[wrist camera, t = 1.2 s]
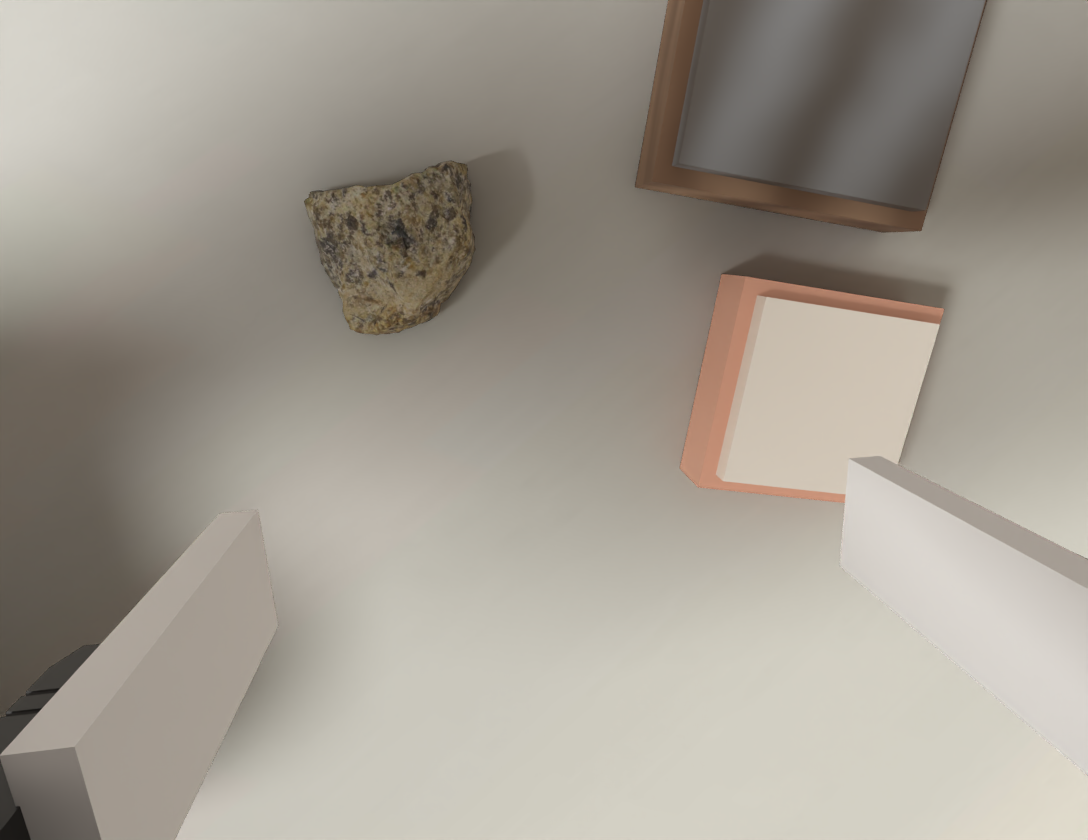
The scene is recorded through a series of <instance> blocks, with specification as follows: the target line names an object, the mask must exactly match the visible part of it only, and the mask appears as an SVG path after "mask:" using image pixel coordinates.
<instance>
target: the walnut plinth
mask: <svg viewBox="0 0 1088 840" xmlns="http://www.w3.org/2000/svg"><path fill="white" fill-rule="evenodd" d="M986 2H987V0H668V4H667V10H666V16H665V21H664V27H663V32H662V38H661V44H660V49H659V55H658V60H657V66H656V72H655V77H654V83H653V88H652V94H651V100H650V105H649V111H648V116H647V122H646V128H645V133H644V139H643V144H642V150H641V156H640V161H639V167H638V172H637V178H636V184H635V187H637V188H642V189H648V190H653V191H659V192H664V193H670V194H675V195H681V196H686V197H692V198H697V199H703V200H708V201H714V202H719V203H725V204H730V205H736V206H741V207H747V208H752V209H758V210H763V211H769V212H774V213H780V214H785V215H790V216H796V217H801V218H807V219H812V220H818V221H823V222H829V223H834V224H840V225H845V226H851V227H856V228H862V229H867V230H873V231H878V232H908V231H921V230H922V227H923V223H924V220H925V216H926V213H927V209H928V206H929V202H930V199H931V195H932V192H933V188H934V185H935V181H936V178H937V174H938V171H939V167H940V164H941V160H942V156H943V153H944V149H945V146H946V142H947V139H948V135H949V132H950V128H951V125H952V121H953V118H954V114H955V111H956V107H957V104H958V100H959V97H960V93H961V90H962V86H963V83H964V79H965V76H966V72H967V69H968V65H969V62H970V58H971V55H972V51H973V48H974V44H975V41H976V37H977V34H978V30H979V26H980V23H981V19H982V16H983V12H984V9H985V5H986Z"/></svg>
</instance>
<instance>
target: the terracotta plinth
mask: <svg viewBox="0 0 1088 840" xmlns="http://www.w3.org/2000/svg"><path fill="white" fill-rule="evenodd" d="M943 312H944V309H942V308H936V307H929V306H923V305H917V304H911V303H905V302H899V301H893V300H887V299H881V298H875V297H868V296H862V295H856V294H850V293H844V292H838V291H832V290H826V289H820V288H814V287H807V286H801V285H795V284H789V283H783V282H777V281H771V280H765V279H759V278H753V277H746V276H737V275H727V274H721V279H720V284H719V288H718V293H717V298H716V302H715V307H714V311H713V316H712V321H711V325H710V330H709V335H708V339H707V344H706V348H705V353H704V358H703V362H702V367H701V372H700V376H699V381H698V386H697V390H696V395H695V399H694V404H693V409H692V413H691V418H690V423H689V427H688V432H687V436H686V441H685V446H684V450H683V455H682V460H681V464H680V469H681V470H682V471H683V472H684V473H685V474H686V475H687V476H688V477H689V478H690V479H691V481H692V482H693V483H694V484H695V485H696V486H697V487H701V488H710V489H719V490H729V491H738V492H748V493H757V494H766V495H776V496H785V497H795V498H804V499H814V500H823V501H832V502H842V503H845V496H846V484H847V473H848V461H849V458H860V457H871V456H881V457H883V458H885V459H887V460H889V461H891V462H893V463H895V464H897V465H898V462H899V459H900V455H901V452H902V449H903V446H904V442H905V439H906V436H907V432H908V429H909V426H910V422H911V419H912V416H913V412H914V409H915V406H916V402H917V399H918V396H919V392H920V389H921V386H922V382H923V379H924V376H925V373H926V369H927V366H928V363H929V359H930V356H931V353H932V349H933V346H934V343H935V339H936V336H937V333H938V329H939V326H940V322H941V319H942V315H943Z"/></svg>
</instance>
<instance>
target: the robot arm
mask: <svg viewBox="0 0 1088 840" xmlns="http://www.w3.org/2000/svg"><path fill="white" fill-rule="evenodd" d="M839 566H840V567H841V568H842V569H843V570H844V571H846V572H847V573H848V574H849V575H850V576H852V577H853V578H854V579H855V580H856V581H858V582H859V583H860V584H861V585H862V586H863V587H865V588H866V589H867V590H868V591H869V592H871V593H872V594H873V595H874V596H875V597H876V598H878V599H879V600H880V601H881V602H882V603H884V604H885V605H886V606H887V607H888V608H890V609H891V610H892V611H893V612H894V613H895V614H897V615H898V616H899V617H900V618H901V619H903V620H904V621H905V622H906V623H907V624H908V625H910V626H911V627H912V628H913V629H914V630H916V631H917V632H918V633H919V634H920V635H922V636H923V637H924V638H925V639H926V640H927V641H929V642H930V643H931V644H932V645H933V646H935V647H936V648H937V649H938V650H939V651H940V652H942V653H943V654H944V655H945V656H946V657H948V658H949V659H950V660H951V661H952V662H954V663H955V664H956V665H957V666H958V667H959V668H961V669H962V670H963V671H964V672H965V673H967V674H968V675H969V676H970V677H971V678H972V679H974V680H975V681H976V682H977V683H978V684H980V685H981V686H982V687H983V688H984V689H986V690H987V691H988V692H989V693H990V694H991V695H993V696H994V697H995V698H996V699H997V700H999V701H1000V702H1001V703H1002V704H1003V705H1004V706H1006V707H1007V708H1008V709H1009V710H1010V711H1012V712H1013V713H1014V714H1015V715H1016V716H1018V717H1019V718H1020V719H1021V720H1022V721H1023V722H1025V723H1026V724H1027V725H1028V726H1029V727H1031V728H1032V729H1033V730H1034V731H1035V732H1036V733H1038V734H1039V735H1040V736H1041V737H1042V738H1044V739H1045V740H1046V741H1047V742H1048V743H1050V744H1051V745H1052V746H1053V747H1054V748H1055V749H1057V750H1058V751H1059V752H1060V753H1061V754H1063V755H1064V756H1065V757H1066V758H1067V759H1068V760H1070V761H1071V762H1072V763H1073V764H1074V765H1076V766H1077V767H1078V768H1079V769H1080V770H1082V771H1083V772H1084V773H1085V774H1086V775H1087V776H1088V559H1086V558H1084V557H1082V556H1080V555H1078V554H1076V553H1074V552H1072V551H1070V550H1068V549H1066V548H1064V547H1062V546H1060V545H1058V544H1056V543H1054V542H1052V541H1050V540H1048V539H1046V538H1044V537H1042V536H1040V535H1038V534H1036V533H1034V532H1032V531H1030V530H1028V529H1026V528H1024V527H1022V526H1020V525H1018V524H1016V523H1014V522H1012V521H1010V520H1008V519H1006V518H1004V517H1002V516H1000V515H998V514H996V513H994V512H992V511H990V510H987V509H985V508H983V507H981V506H979V505H977V504H975V503H973V502H971V501H969V500H967V499H965V498H963V497H961V496H959V495H957V494H955V493H953V492H951V491H949V490H947V489H945V488H943V487H941V486H939V485H937V484H935V483H933V482H931V481H929V480H927V479H925V478H923V477H921V476H919V475H917V474H915V473H913V472H911V471H909V470H907V469H905V468H903V467H901V466H899V465H897V464H895V463H893V462H891V461H889V460H887V459H885V458H883V457H881V456H871V457H860V458H849V461H848V473H847V484H846V496H845V507H844V519H843V531H842V542H841V554H840V565H839ZM277 628H278V620H277V615H276V609H275V603H274V597H273V592H272V586H271V580H270V575H269V569H268V563H267V558H266V552H265V546H264V540H263V535H262V529H261V523H260V518H259V512H258V510H249V511H237V512H226V513H219V514H218V516H217V517H216V518H215V519H214V520H213V521H212V522H211V523H210V524H209V525H208V527H207V528H206V529H205V530H204V531H203V532H202V533H201V534H200V535H199V536H198V538H197V539H196V540H195V541H194V542H193V543H192V544H191V545H190V546H189V547H188V549H187V550H186V551H185V552H184V553H183V554H182V555H181V556H180V557H179V558H178V560H177V561H176V562H175V563H174V564H173V565H172V566H171V567H170V568H169V569H168V571H167V572H166V573H165V574H164V575H163V576H162V577H161V578H160V579H159V580H158V582H157V583H156V584H155V585H154V586H153V587H152V588H151V589H150V590H149V591H148V593H147V594H146V595H145V596H144V597H143V598H142V599H141V600H140V601H139V602H138V604H137V605H136V606H135V607H134V608H133V609H132V610H131V611H130V612H129V613H128V615H127V616H126V617H125V618H124V619H123V620H122V621H121V622H120V623H119V624H118V626H117V627H116V628H115V629H114V630H113V631H112V632H111V633H110V634H109V635H108V637H107V638H106V639H105V640H104V641H103V642H102V643H101V644H96V645H86V646H83V647H81V648H79V649H78V650H76V651H75V652H73V653H72V654H70V655H69V656H67V657H65V658H64V659H62V660H61V661H59V662H58V663H56V664H55V665H53V666H52V667H50V668H49V669H48V670H47V671H46V672H45V673H44V674H43V675H42V676H41V677H40V678H39V679H38V680H37V681H36V682H35V683H34V684H33V685H32V686H31V687H30V688H29V689H28V690H27V691H26V696H23V697H21V698H20V699H19V700H18V701H17V702H16V703H15V704H14V705H13V706H12V707H11V708H10V709H9V710H8V711H7V712H6V717H1V718H0V840H175V838H176V836H177V834H178V832H179V830H180V828H181V826H182V824H183V822H184V820H185V818H186V816H187V814H188V812H189V810H190V807H191V805H192V803H193V801H194V799H195V797H196V795H197V793H198V791H199V789H200V787H201V785H202V783H203V781H204V779H205V776H206V774H207V772H208V770H209V768H210V766H211V764H212V762H213V760H214V758H215V756H216V754H217V752H218V750H219V747H220V745H221V743H222V741H223V739H224V737H225V735H226V733H227V731H228V729H229V727H230V725H231V723H232V721H233V719H234V716H235V714H236V712H237V710H238V708H239V706H240V704H241V702H242V700H243V698H244V696H245V694H246V692H247V690H248V687H249V685H250V683H251V681H252V679H253V677H254V675H255V673H256V671H257V669H258V667H259V665H260V663H261V661H262V659H263V656H264V654H265V652H266V650H267V648H268V646H269V644H270V642H271V640H272V638H273V636H274V634H275V632H276V630H277Z"/></svg>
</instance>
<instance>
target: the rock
mask: <svg viewBox="0 0 1088 840" xmlns="http://www.w3.org/2000/svg"><path fill="white" fill-rule="evenodd" d="M467 171H468V168H467V165H465V164H461V163H456V162H454V161H446V162H442V163H439V164H437V165H435V166H430V167H428V168H426V169H425V170H424V172H422V173H414V174H411V175H409V176H408V177H406V178H404V179H402V180H400V181H399V182H397V183H395V184H392V185H376V186H371V187H364V186H361V185H356V186H352V187H349V188H342V189H337V190H329V191H313V192H310V194H309V198H307V199H306V200H305V201H304V203H305V206H306V209H307V212H308V216H309V218H310V220H311V222H312V224H313V227H314V232H315V238H316V243H317V246H318V249H319V253H320V256H321V264H322V265H323V266H324V267H325V271H326V273H327V274H328V276H329V277H330V279H331V281H332V283H333V285H334V287H336V288H337V289H338V293H339V296H340V298H341V299H342V301H343V314H344V316H345V319H346V321H347V322H348V324H349V327H350V329H351V330H354V331H356V332H359V333H364V334H375V335H379V334H390V333H399V332H400V331H402V330H404V329H407V328H410V327H413V326H416V325H418V324H420V323H424V322H427V321H429V320H431V319H432V318H434V317H435V316H437V315H438V313H439V310H440V304H441V303H442V302H444V301H446V300H447V299H448V298H449V296H450V294H451V293H452V292H453V291H454V289H455V288H456V287H457V285H458V283H459V282H460V280H461V277H462V276H463V275H464V274H465V273H466V271H467V269H468V268H469V266H470V263H471V261H472V256H473V253H474V252H475V246H474V240H475V237H474V234H473V233H472V228H471V225H470V212H471V204H472V197H471V193H470V186H471V184H470V181H469V180H467Z"/></svg>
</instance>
